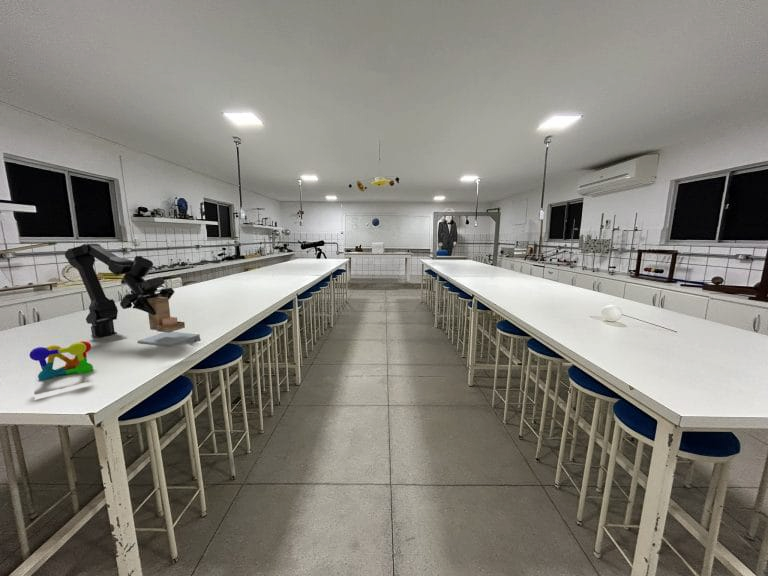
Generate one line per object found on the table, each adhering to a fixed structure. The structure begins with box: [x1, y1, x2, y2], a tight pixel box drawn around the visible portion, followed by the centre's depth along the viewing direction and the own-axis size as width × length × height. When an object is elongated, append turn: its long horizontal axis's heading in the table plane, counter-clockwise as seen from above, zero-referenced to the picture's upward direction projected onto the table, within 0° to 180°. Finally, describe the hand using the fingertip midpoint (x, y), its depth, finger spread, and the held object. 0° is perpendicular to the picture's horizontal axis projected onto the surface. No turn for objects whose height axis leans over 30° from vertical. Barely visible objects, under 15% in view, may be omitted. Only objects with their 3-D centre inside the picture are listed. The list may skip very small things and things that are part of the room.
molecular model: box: [29, 340, 94, 381], centre depth 92 cm, size 15×12×15 cm
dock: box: [137, 331, 201, 347], centre depth 124 cm, size 17×13×2 cm
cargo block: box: [162, 316, 179, 326], centre depth 122 cm, size 4×4×4 cm
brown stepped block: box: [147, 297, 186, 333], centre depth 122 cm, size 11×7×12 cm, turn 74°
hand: (161, 312), depth 122 cm, fingers closed on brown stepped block, 5 cm apart
